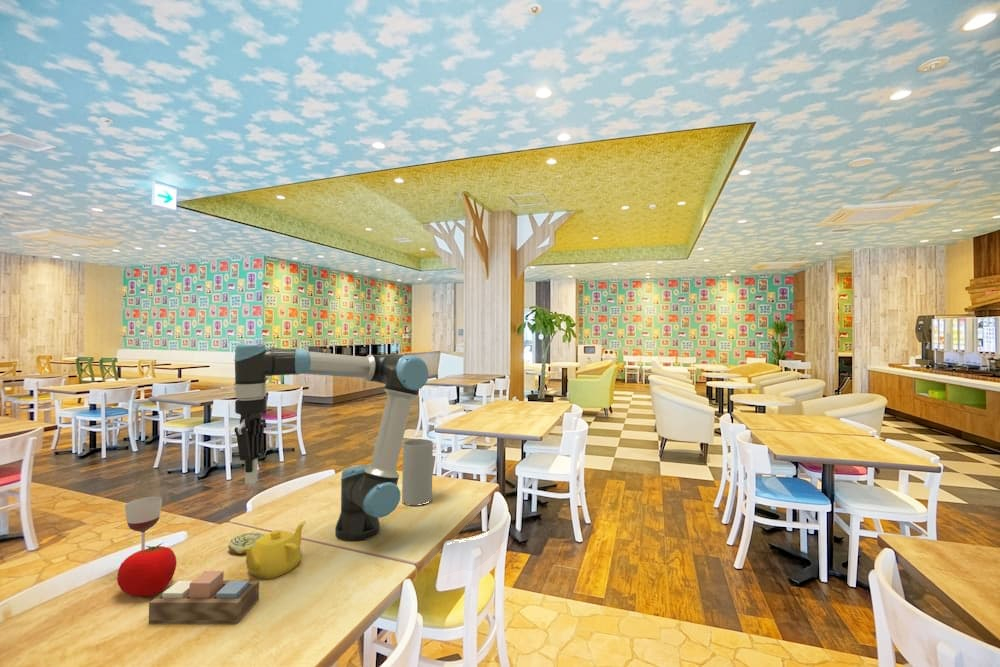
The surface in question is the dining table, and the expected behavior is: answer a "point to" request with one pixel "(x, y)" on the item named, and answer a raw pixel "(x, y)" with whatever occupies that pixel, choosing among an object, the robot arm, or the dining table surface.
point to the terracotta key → (206, 585)
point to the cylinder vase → (417, 471)
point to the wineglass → (143, 514)
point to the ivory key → (177, 590)
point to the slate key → (232, 590)
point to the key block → (203, 608)
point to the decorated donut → (243, 542)
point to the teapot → (274, 553)
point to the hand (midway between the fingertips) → (251, 482)
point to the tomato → (147, 571)
